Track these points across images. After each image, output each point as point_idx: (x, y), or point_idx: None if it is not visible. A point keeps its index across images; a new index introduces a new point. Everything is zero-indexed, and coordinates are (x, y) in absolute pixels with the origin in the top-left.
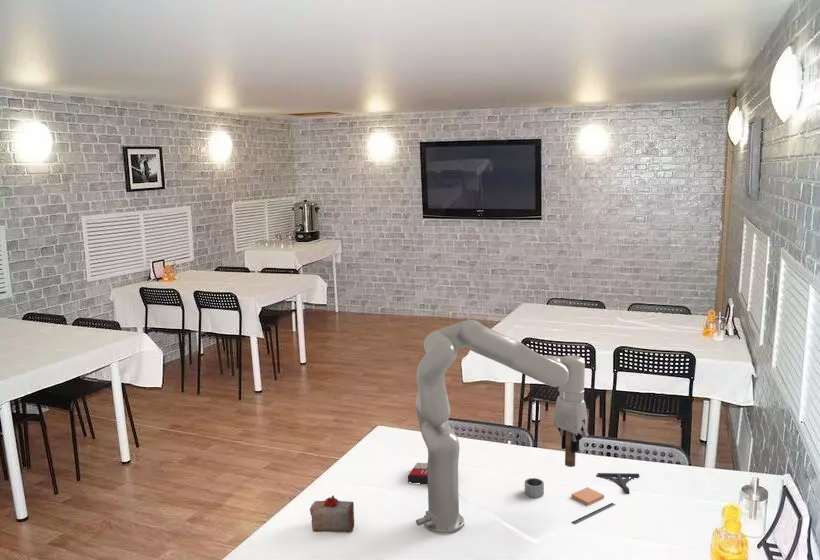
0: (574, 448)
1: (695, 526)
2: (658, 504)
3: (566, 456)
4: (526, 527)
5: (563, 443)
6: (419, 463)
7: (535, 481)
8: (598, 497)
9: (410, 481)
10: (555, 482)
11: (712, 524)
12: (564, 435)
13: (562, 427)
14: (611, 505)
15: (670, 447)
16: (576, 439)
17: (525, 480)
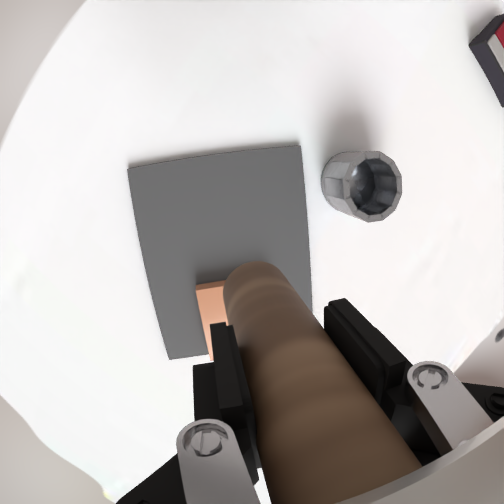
0: (210, 369)
1: (38, 416)
2: (136, 431)
3: (270, 287)
4: (206, 33)
5: (348, 331)
6: None
7: (382, 206)
8: (206, 338)
9: (497, 16)
10: (369, 296)
11: (42, 438)
12: (397, 401)
13: (487, 470)
14: (170, 347)
15: None
16: (182, 462)
17: (398, 170)
